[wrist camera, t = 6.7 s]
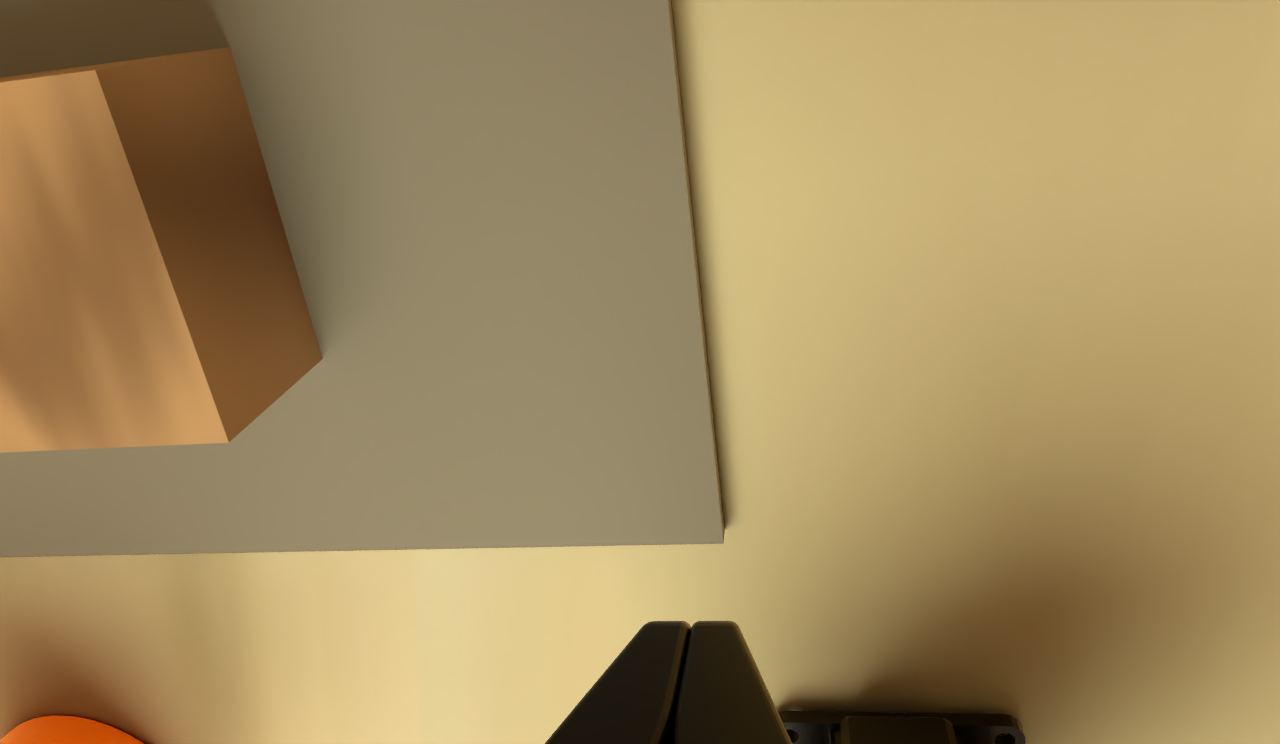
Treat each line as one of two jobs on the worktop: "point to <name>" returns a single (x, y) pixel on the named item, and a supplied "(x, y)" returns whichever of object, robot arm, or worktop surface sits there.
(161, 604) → the worktop surface
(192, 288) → the block
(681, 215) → the mat
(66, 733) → the shaker bottle
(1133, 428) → the worktop surface
